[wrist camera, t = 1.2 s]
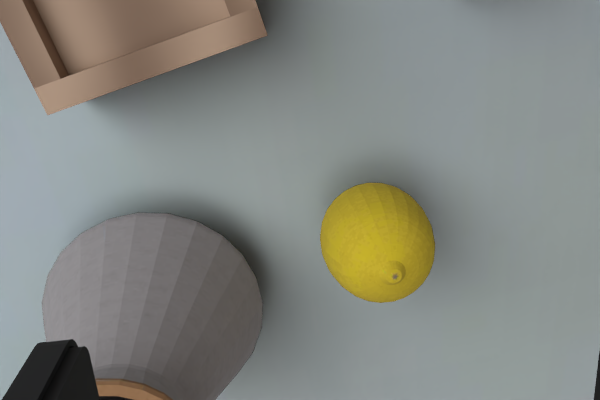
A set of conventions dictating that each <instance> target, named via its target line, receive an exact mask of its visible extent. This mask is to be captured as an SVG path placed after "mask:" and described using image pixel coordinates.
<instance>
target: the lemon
mask: <svg viewBox="0 0 600 400" xmlns="http://www.w3.org/2000/svg"><path fill="white" fill-rule="evenodd" d="M320 241H321V249H322V255H323V257H324V260H325V262H326V264H327V267H328V269H329V271H330V272H331V274H332V275H333V276H334V277H335V279H336V280H337V281H338V282H339V283H340V285H341V286H342V287H343V288H345V289H346V290H348V291H349V292H350V293H352V294H353V295H355V296H356V297H359V298H362V299H364V300H367V301H371V302H379V303H382V302H392V301H396V300H399V299H402V298H405V297H406V296H408V295H410V294H411V293H413V292H414V291H415V290H416V289H417V288H418V287H420V286H421V285H422V284H423V282H424V281H425V279H426V278H427V276H428V275H429V273H430V270H431V267H432V264H433V261H434V252H435V242H434V236H433V231H432V227H431V224H430V222H429V220H428V218H427V216H426V214H425V212H424V210H423V209H422V208H421V206H420V205H419V204H418V203H417V202H416V201H415V200H414V199H413V198H412V197H411V196H410V195H409V194H407V193H405V192H404V191H402V190H400V189H399V188H397V187H394V186H391V185H387V184H383V183H365V184H360V185H356V186H354V187H352V188H350V189H348V190H346V191H344V192H343V193H342V194H340V195H339V196H338V197H337V198H336V199H335V200H334V201H333V202H332V204H331V205H330V206H329V208H328V209H327V212H326V214H325V216H324V219H323V221H322V227H321V234H320Z"/></svg>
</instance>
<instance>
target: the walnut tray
mask: <svg viewBox="0 0 600 400" xmlns="http://www.w3.org/2000/svg"><path fill="white" fill-rule="evenodd" d="M0 22H1V24H2V26H3V28H4V30H5V32H6V34H7V36H8V38H9V40H10V42H11V44H12V46H13V48H14V50H15V52H16V54H17V56H18V58H19V60H20V62H21V64H22V66H23V68H24V70H25V72H26V74H27V75H28V77H29V79H30V81H31V83H32V85H33V87H34V89H35V91H36V93H37V95H38V97H39V99H40V101H41V103H42V105H43V107H44V109H45V111H46V113H47V115H50V114H52V113H55V112H58V111H61V110H63V109H66V108H69V107H72V106H74V105H77V104H80V103H83V102H85V101H88V100H91V99H94V98H96V97H99V96H102V95H105V94H107V93H110V92H113V91H116V90H118V89H121V88H124V87H127V86H130V85H132V84H135V83H138V82H141V81H143V80H146V79H149V78H152V77H154V76H157V75H160V74H163V73H165V72H168V71H171V70H174V69H176V68H179V67H182V66H185V65H187V64H190V63H193V62H196V61H199V60H201V59H204V58H207V57H210V56H212V55H215V54H218V53H221V52H223V51H226V50H229V49H232V48H234V47H237V46H240V45H243V44H245V43H248V42H251V41H254V40H256V39H259V38H262V37H265V36H267V32H266V29H265V26H264V24H263V21H262V18H261V15H260V12H259V9H258V6H257V3H256V1H255V0H0Z"/></svg>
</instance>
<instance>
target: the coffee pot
mask: <svg viewBox="0 0 600 400" xmlns="http://www.w3.org/2000/svg"><path fill="white" fill-rule="evenodd" d="M42 310H43V320H44V329H45V336H46V342H51V341H60V340H69V339H73V340H75V342H76V343H77V345H78V347H82V346H85V347H87V349H88V351H89V354H90V358H91V363H92V367H93V372H94V376H95V380H96V385H97V389H98V394H99V398H100V400H215V399H216V398H217V397H218V396H219V395H220V393H221V392H222V391H223V390H224V389H225V388H226V386H227V385H228V384H229V383H230V382H231V381H232V379H233V378H234V377H235V376H236V375H237V374H238V372H239V371H240V370H241V368H242V367H243V365H244V364H245V363H246V361H247V360H248V359H249V357H250V356H251V354H252V353H253V350H254V348H255V345H256V342H257V339H258V336H259V334H260V331H261V328H262V310H263V302H262V298H261V294H260V290H259V286H258V283H257V279H256V277H255V275H254V273H253V272H252V270H251V268H250V267H249V265H248V263H247V262H246V260H245V258H244V257H243V255H242V254H241V253H240V252H239V251H238V250H237V249H236V248H235V247H234V246H233V245H232V244H231V243H230V242H229V241H228V240H227V239H226V238H225V237H223V236H222V235H221V234H219V233H217V232H215V231H214V230H212V229H210V228H208V227H206V226H205V225H203V224H201V223H199V222H197V221H194V220H191V219H187V218H183V217H180V216H176V215H172V214H169V213H134V214H129V215H124V216H120V217H115V218H111V219H108V220H106V221H104V222H102V223H100V224H98V225H96V226H94V227H92V228H90V229H88V230H86V231H84V232H83V233H81V234H80V235H79V236H78V237H77V238H76V239H75V240H74V241H72V242H71V243H70V244H69V245H68V246H67V247H66V248H65V249H64V250H63V251H62V252H61V253H60V255H59V257H58V258H57V260H56V262H55V263H54V265H53V267H52V269H51V270H50V272H49V274H48V276H47V281H46V285H45V290H44V295H43V299H42Z"/></svg>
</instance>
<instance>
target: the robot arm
mask: <svg viewBox="0 0 600 400" xmlns="http://www.w3.org/2000/svg"><path fill="white" fill-rule="evenodd" d="M2 400H100V398H99V394H98V389H97V385H96V380H95V376H94V372H93V367H92V363H91V358H90V354H89V351H88V349H87V347H85V346H82V347H78V345H77V343H76V342H75V340H73V339H69V340H60V341H51V342H41V343H38V344H37V345H36V346H35V347H34V349H33V350H32V352H31V354H30V355H29V357H28V359H27V360H26V362H25V363H24V365H23V367H22V368H21V370H20V371H19V373H18V375H17V376H16V378H15V380H14V381H13V383H12V384H11V386H10V388H9V389H8V391H7V392H6V394H5V396H4V397H3V399H2ZM594 400H600V353H599V361H598V369H597V378H596V386H595V394H594Z"/></svg>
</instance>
